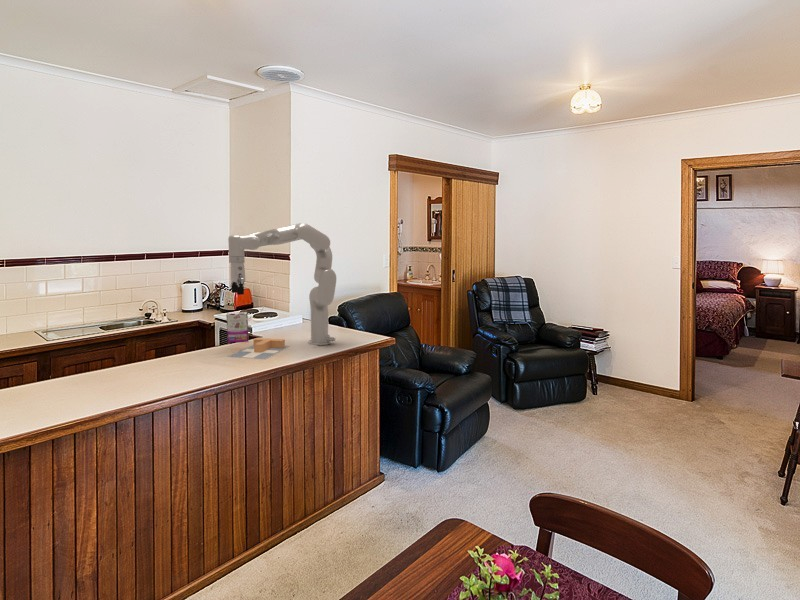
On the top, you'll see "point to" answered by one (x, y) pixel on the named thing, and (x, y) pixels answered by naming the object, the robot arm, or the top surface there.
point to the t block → (267, 344)
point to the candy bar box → (237, 327)
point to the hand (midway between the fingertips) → (237, 293)
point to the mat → (257, 353)
